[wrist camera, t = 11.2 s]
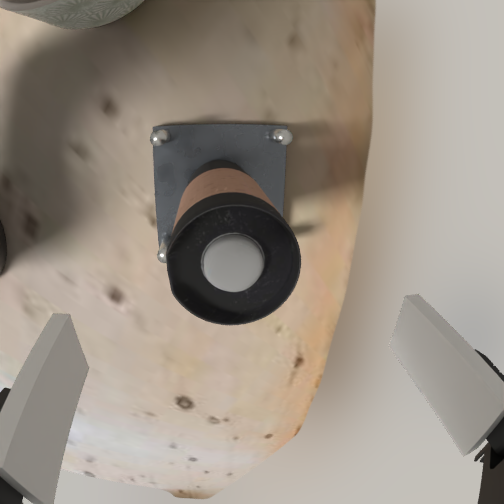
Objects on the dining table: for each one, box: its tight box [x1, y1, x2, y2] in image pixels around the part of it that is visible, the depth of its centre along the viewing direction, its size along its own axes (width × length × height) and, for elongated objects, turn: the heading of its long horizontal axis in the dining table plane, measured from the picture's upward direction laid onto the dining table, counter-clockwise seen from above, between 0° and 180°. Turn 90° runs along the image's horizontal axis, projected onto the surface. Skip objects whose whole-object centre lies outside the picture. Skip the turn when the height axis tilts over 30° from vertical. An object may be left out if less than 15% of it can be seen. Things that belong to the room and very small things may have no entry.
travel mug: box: [166, 160, 301, 325], centre depth 26 cm, size 8×8×20 cm
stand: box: [150, 124, 293, 263], centre depth 33 cm, size 15×15×6 cm
